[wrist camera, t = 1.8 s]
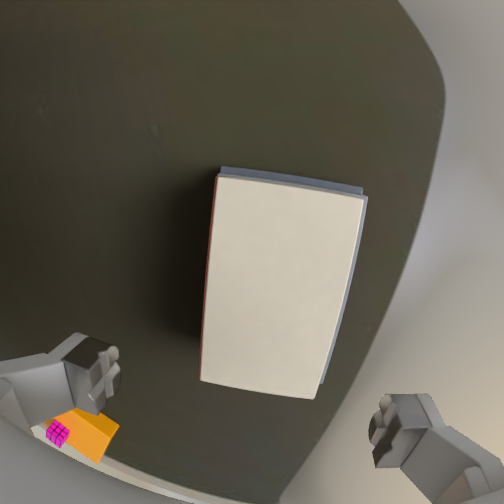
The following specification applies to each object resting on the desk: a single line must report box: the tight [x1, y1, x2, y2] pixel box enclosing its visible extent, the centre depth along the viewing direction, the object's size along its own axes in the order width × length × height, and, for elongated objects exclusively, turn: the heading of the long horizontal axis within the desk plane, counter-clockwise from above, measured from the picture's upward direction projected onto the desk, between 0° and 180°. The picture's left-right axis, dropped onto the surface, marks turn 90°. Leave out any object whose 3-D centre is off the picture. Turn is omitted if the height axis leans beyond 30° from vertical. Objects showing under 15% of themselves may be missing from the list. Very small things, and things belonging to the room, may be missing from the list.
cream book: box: [199, 176, 364, 399], centre depth 15 cm, size 11×7×2 cm, turn 173°
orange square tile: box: [44, 407, 119, 464], centre depth 24 cm, size 8×8×4 cm
